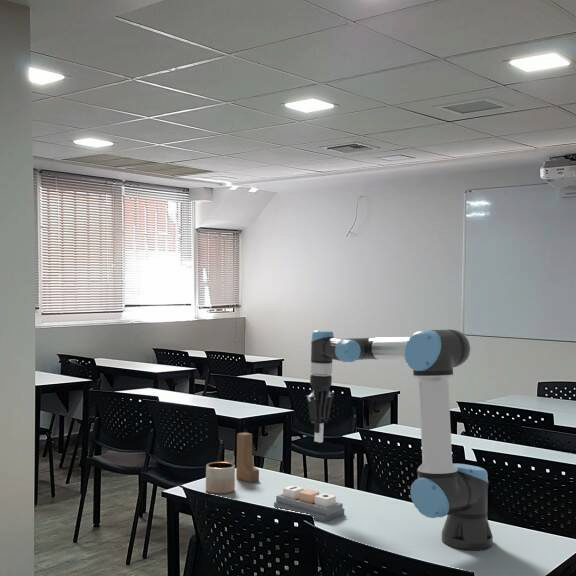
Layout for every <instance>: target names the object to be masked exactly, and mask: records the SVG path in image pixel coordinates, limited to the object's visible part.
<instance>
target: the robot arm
mask: <svg viewBox="0 0 576 576" xmlns="http://www.w3.org/2000/svg"><path fill="white" fill-rule="evenodd" d="M310 343H311V344H310V345H311V347H310V348H311V349H310V373H311V374H310V376H309V377H310V378H309V385H310V386H311V390H310V394H308V395H306V396H305V397H306V401H307V404H308V405H307V406H308V414H309V421H310V422H311V423H313V425H314V427H313V432H314V435H313V436H314V439H313V441H314V442H317V443H319V444H320V443H323V442H324V431H325V430H324V429H325V424H327V423H328V421H329V419H330V414H331V408H332V402H333V399H334V396H335V393H334V392H331V390H330V389H331V388H330V387H331V386H332V380H333V379H332V378H333V377H332V374H333V361H334V360H335V361H339V362H340V361H341V362H343V363H355V361H361V360H362V361H363V360H401V361H402V360H403V361H404V360H405V362H406V363H407V365H408V367H409V368H410V369H412V374H413V375H412V376H413V378H415V379H416V380H417V381H418V389H419V390H418V393H419V394H418V395H419V414H420V435H421V456H422V463H421V464H420V465H419V466H418V468H417V479H415V480H414V481H413V483H412V484H411V485H410V497H411V501H412V503H413V505H414V507H415V508H416V509H417V511H418V512H419V513H420V514H421V515H423V516H424V517H427V518H430V519H437V518H444V517H446V519H445V522H444V524H443V528H442V530H441V541H442V543H444V544H445V545H447V546H449V547H452V548H456V549H460V550H465V549H466V550H467V551H478V550H477V549H483V550H486V548H487V549H489V548H488V547H490V548H491V547H492V546H493V545H492V544H494V543H493V542H494V541H493V540H494V539H493V533H492V530H491V526H490V524H489V520H488V494H489V493H488V490H489V489H488V488H489V479H488V472H487V470H486V469H485V468H483V467H481V466H476V465H470V464H467V463H466V464H465V463H453V455H452V454H453V453H452V448H453V447H452V430H451V411H450V408H451V407H450V390H449V389H450V387H449V382H450V379H452V377H453V376H454V368H457V367H460V366H462V365H463V364H464V363H466V362H467V360H468V358H469V357H470V353H471V344H470V341H469V339H468V337H467V336H466V335H465V334H464V333H462V331H459V330H456V329H425V330H424V329H423V330H419V331H415V332H414V333H413V334H411V336H391V337H390V336H386V337H372V336H371V337H357V338H356V337H354V338H353V337H352V338H351V337H350V338H340V337H334V332H333V330H327V329H326V330H325V329H323V330H321V329H317V330H316V329H315V330H314V331H312V333H311V341H310Z"/></svg>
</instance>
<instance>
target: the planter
mask: <svg viewBox="0 0 576 576" xmlns="http://www.w3.org/2000/svg"><path fill="white" fill-rule="evenodd" d="M205 466H206V467H205V491H206V492H207V493H210V494H214V495H215V494H216V495H225V494H230V493H232V492H234V491H235V487H236V485H235V481H236V480H235V477H236V476H235V475H236V473H235V472H236V469H235V468H236V465H235V463H232V462H229V461H214V462H209V463H207V464H206V465H205Z"/></svg>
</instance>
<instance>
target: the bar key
mask: <svg viewBox="0 0 576 576" xmlns="http://www.w3.org/2000/svg"><path fill="white" fill-rule="evenodd" d="M282 491H283V493H282V494H283V497H287V498H291V499H298V498H299V492H301V491H304V488H303V487H301V486H296V485H289V486H286V487H283V488H282Z"/></svg>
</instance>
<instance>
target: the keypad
mask: <svg viewBox="0 0 576 576" xmlns="http://www.w3.org/2000/svg"><path fill="white" fill-rule="evenodd" d="M275 497H276V498H275V501H274V502H273V508H274V507H275V508H280V509H285V510H291V511H295V512H300V513H306V514H310V515H312V516H313V517H314V519H313V520H315V521H319V522H322V523H327V522H330V521H331V520H334V519H336V518H340V517H341V516H344V515H345V508H343V506H344V505H343V503H341V502H337V501H336V505H334V506H331V507H328V508H325V507H322V506H318V505H315V502H314V503H311V504H310V503H306V502H302V501H299V498H298V499H291V498H287V497H283V493H282V494H278V495H276V496H275ZM275 508H274V509H275Z"/></svg>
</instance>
